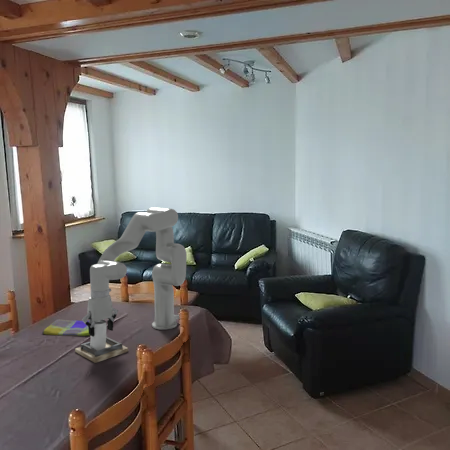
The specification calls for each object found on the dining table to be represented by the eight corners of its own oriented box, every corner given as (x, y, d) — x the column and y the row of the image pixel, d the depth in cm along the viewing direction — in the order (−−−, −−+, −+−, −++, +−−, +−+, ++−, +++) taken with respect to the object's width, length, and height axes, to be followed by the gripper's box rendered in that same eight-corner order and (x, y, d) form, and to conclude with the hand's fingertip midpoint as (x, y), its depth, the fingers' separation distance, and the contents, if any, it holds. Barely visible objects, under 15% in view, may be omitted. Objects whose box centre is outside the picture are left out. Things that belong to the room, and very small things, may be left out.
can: (101, 352, 188) (102, 324, 187) (87, 350, 190) (88, 322, 188) (108, 347, 194) (109, 320, 193) (94, 345, 196) (95, 318, 195)
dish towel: (88, 338, 210) (88, 332, 209) (39, 335, 213) (39, 329, 213) (103, 325, 227) (103, 320, 226) (58, 322, 230) (58, 317, 230)
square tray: (107, 341, 205) (107, 334, 204) (128, 351, 194) (128, 343, 193) (75, 351, 193) (74, 344, 193) (95, 363, 182) (95, 354, 182)
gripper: (112, 287, 199) (113, 325, 201) (76, 295, 186) (78, 336, 189) (122, 291, 194) (123, 329, 196) (86, 299, 181) (87, 340, 183)
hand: (101, 332), depth 192 cm, fingers open, 8 cm apart
